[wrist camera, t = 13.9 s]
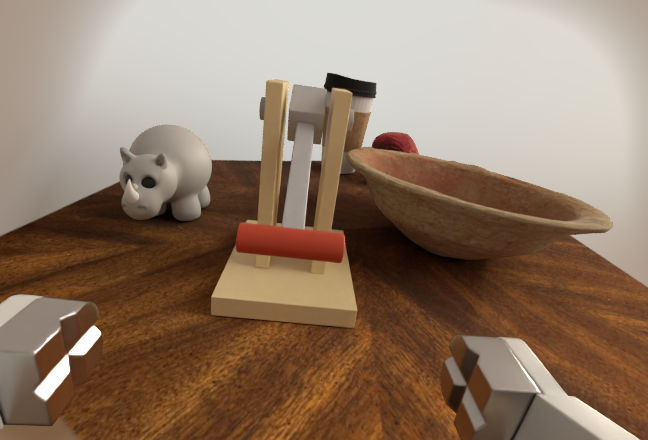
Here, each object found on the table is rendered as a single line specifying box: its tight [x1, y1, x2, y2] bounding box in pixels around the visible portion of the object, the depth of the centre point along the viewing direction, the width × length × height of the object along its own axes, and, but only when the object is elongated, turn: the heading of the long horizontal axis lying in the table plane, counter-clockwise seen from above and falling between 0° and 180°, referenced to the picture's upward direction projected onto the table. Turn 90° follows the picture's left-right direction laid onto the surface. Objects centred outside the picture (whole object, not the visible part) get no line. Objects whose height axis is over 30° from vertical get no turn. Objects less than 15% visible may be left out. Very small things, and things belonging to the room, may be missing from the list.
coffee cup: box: [321, 73, 376, 174], centre depth 57 cm, size 8×8×15 cm
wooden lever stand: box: [211, 80, 357, 328], centre depth 24 cm, size 12×9×14 cm
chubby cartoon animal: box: [120, 125, 212, 221], centre depth 31 cm, size 7×12×8 cm, turn 0°
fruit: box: [372, 132, 419, 155], centre depth 54 cm, size 8×8×8 cm
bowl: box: [346, 147, 613, 260], centre depth 35 cm, size 24×24×8 cm
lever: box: [236, 85, 345, 263], centre depth 20 cm, size 12×5×2 cm
